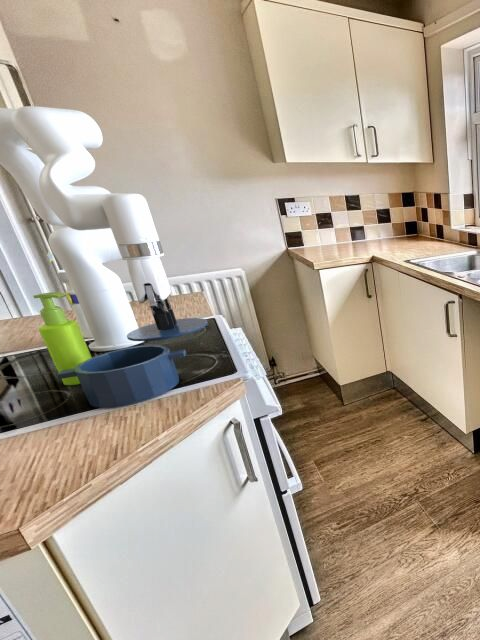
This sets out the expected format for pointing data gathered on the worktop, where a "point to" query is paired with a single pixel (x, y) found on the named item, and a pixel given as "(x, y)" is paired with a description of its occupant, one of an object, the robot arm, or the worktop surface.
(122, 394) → the pan
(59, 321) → the soap dispenser
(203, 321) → the pan lid
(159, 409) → the worktop surface
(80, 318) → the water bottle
